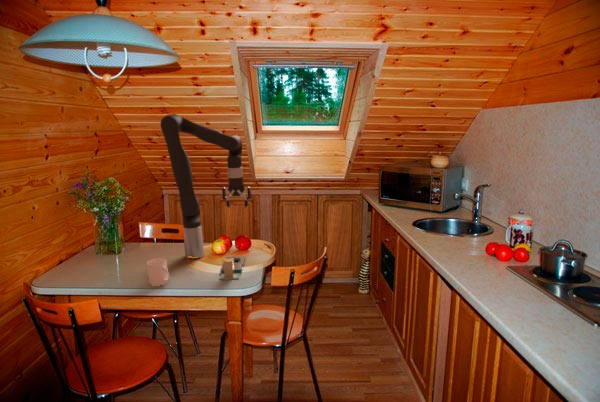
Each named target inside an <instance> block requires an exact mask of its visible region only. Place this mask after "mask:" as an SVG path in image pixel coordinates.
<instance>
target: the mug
mask: <svg viewBox="0 0 600 402" xmlns="http://www.w3.org/2000/svg"><path fill="white" fill-rule="evenodd" d="M146 266H147V275H148V281H149V285H150V284H151V285H154V286H159V285H163V286H165V285H167V284H168V283H169V281H170V273H169V270H168V263H167V259H166V258H162V257H159V258H157V257H156V258H152V259H150V260H148V261H147V262H146ZM166 283H167V284H166ZM164 284H165V285H164ZM151 285H150V286H151ZM154 286H153V287H154ZM159 287H160V286H159Z"/></svg>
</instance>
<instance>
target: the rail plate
mask: <svg viewBox="0 0 600 402" xmlns="http://www.w3.org/2000/svg"><path fill="white" fill-rule="evenodd" d="M225 258H234V261H239V262H234V270H235V273H240V274H242V273H243V270H242V267H243V265H244V266H245V264H244V262H245V263H246V261H247V259H246V256H245V255H244V256H226V257H225ZM245 260H246V261H245ZM243 268H244V267H243ZM222 273H224V262H223V263H222V266H221V268H220V275H221V274H222Z"/></svg>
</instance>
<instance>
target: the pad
mask: <svg viewBox="0 0 600 402" xmlns="http://www.w3.org/2000/svg"><path fill="white" fill-rule="evenodd" d="M240 275H241V273H235V274H234V277H225V273H222V274H221V273H220V276H219V280H220V281H221V280H239V279H240V277H241V276H240Z"/></svg>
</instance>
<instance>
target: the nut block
mask: <svg viewBox="0 0 600 402" xmlns="http://www.w3.org/2000/svg"><path fill="white" fill-rule="evenodd" d="M223 263H224V273H225V277H234V274H235V270H234V263H235V262H234V258H226V257H225V258H224V260H223Z"/></svg>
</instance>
